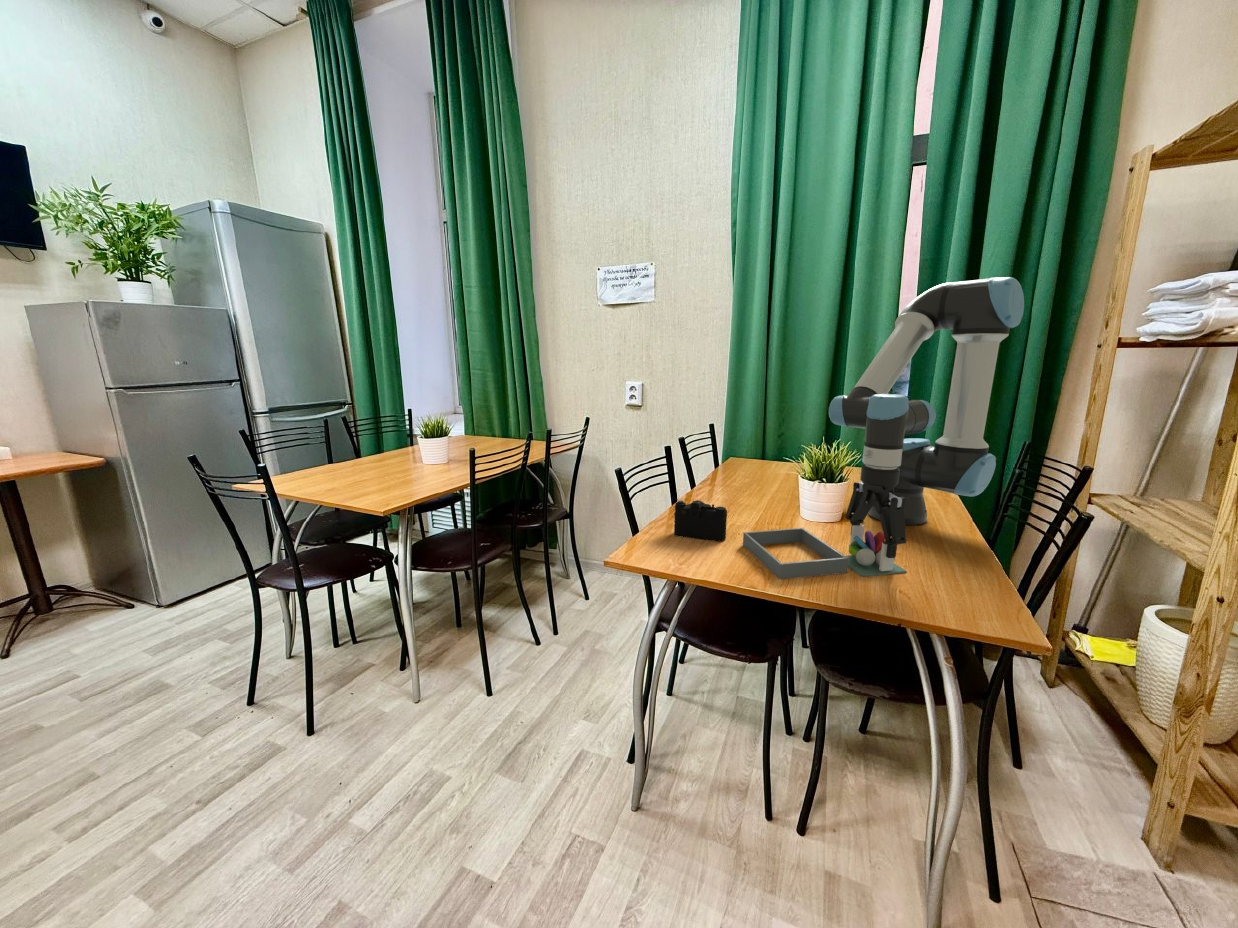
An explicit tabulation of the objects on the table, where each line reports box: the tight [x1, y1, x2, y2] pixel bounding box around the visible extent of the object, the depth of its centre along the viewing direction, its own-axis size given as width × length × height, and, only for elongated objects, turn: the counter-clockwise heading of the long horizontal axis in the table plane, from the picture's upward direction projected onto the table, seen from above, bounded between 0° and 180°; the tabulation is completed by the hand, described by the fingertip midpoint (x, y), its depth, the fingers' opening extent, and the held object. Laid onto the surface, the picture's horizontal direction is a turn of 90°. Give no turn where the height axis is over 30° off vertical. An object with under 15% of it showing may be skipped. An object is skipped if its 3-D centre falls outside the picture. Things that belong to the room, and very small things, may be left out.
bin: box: [742, 527, 849, 580], centre depth 116 cm, size 16×19×4 cm
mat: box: [845, 554, 907, 578], centre depth 112 cm, size 11×10×1 cm
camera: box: [673, 500, 728, 543], centre depth 132 cm, size 14×11×10 cm
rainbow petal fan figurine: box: [848, 530, 896, 566], centre depth 111 cm, size 8×10×7 cm
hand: (870, 560), depth 112 cm, fingers closed on rainbow petal fan figurine, 10 cm apart
